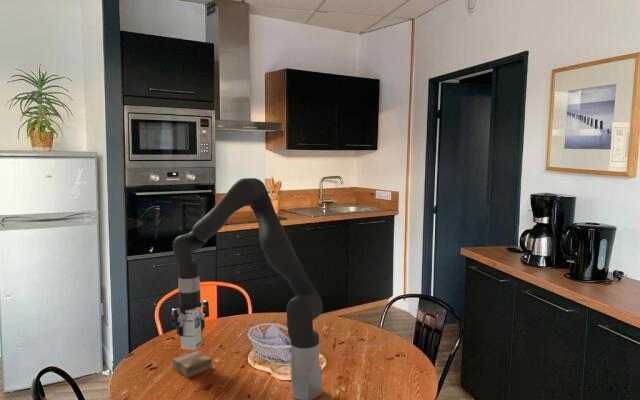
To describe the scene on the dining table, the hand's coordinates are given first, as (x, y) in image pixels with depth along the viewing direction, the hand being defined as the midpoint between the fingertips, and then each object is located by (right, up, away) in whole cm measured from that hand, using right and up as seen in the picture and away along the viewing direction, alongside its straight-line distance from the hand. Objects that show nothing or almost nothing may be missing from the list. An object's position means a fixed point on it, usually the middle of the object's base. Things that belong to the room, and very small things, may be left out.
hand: (191, 332), depth 172 cm
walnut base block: (0, -14, +1) cm, 14 cm away
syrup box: (0, -5, +1) cm, 5 cm away
